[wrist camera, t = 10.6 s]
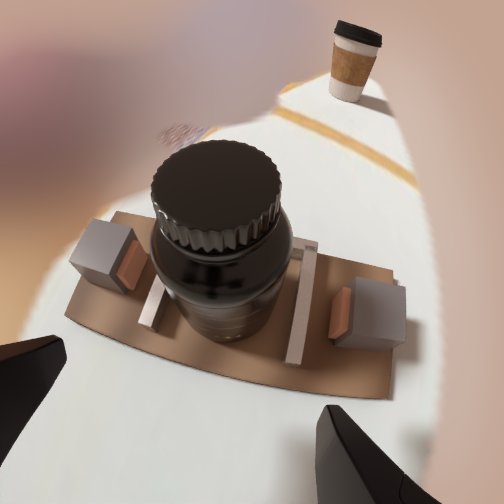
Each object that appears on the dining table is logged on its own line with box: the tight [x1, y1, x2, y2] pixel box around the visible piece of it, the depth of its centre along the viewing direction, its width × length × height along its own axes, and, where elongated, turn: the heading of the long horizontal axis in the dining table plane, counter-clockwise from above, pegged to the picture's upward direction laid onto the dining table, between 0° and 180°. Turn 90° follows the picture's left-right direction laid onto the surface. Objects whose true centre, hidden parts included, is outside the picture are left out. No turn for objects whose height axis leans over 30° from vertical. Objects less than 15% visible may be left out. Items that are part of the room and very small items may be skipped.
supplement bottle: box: [150, 140, 293, 343], centre depth 14 cm, size 7×7×12 cm
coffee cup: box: [329, 20, 382, 102], centre depth 36 cm, size 8×8×15 cm
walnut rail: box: [64, 211, 406, 399], centre depth 19 cm, size 26×11×5 cm, turn 77°
